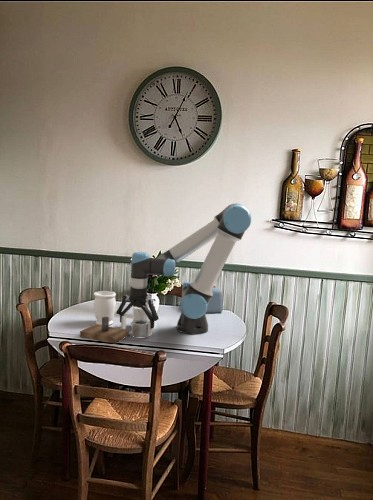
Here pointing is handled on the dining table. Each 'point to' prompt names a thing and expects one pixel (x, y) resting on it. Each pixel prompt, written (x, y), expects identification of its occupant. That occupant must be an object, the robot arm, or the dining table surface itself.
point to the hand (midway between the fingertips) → (136, 332)
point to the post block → (104, 332)
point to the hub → (139, 328)
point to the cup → (139, 314)
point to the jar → (104, 305)
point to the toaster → (215, 301)
